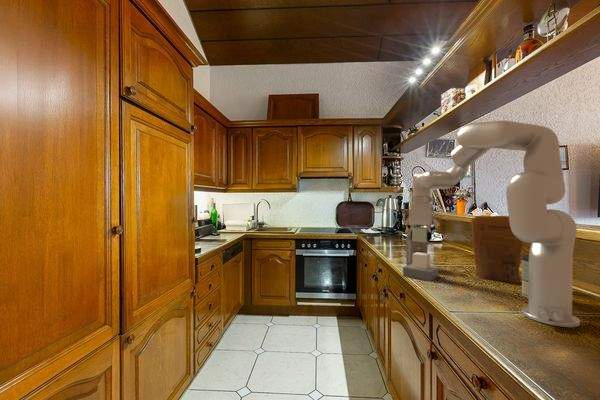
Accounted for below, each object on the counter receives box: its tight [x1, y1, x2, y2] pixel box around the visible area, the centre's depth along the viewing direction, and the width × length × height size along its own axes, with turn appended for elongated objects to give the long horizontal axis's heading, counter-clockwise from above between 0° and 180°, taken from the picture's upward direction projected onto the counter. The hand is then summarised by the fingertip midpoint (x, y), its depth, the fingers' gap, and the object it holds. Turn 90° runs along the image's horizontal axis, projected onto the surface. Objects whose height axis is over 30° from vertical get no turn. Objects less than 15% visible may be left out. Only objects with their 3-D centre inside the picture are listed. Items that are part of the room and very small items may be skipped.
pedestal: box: [402, 263, 440, 282], centre depth 128 cm, size 12×12×4 cm
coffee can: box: [520, 254, 529, 299], centre depth 100 cm, size 10×10×14 cm
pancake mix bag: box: [470, 215, 524, 284], centre depth 123 cm, size 7×19×28 cm, turn 50°
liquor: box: [405, 225, 428, 266], centre depth 144 cm, size 9×9×30 cm
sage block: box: [412, 226, 430, 242], centre depth 128 cm, size 6×6×6 cm
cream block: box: [412, 252, 431, 269], centre depth 128 cm, size 6×6×6 cm
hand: (420, 239), depth 128 cm, fingers closed on sage block, 6 cm apart
